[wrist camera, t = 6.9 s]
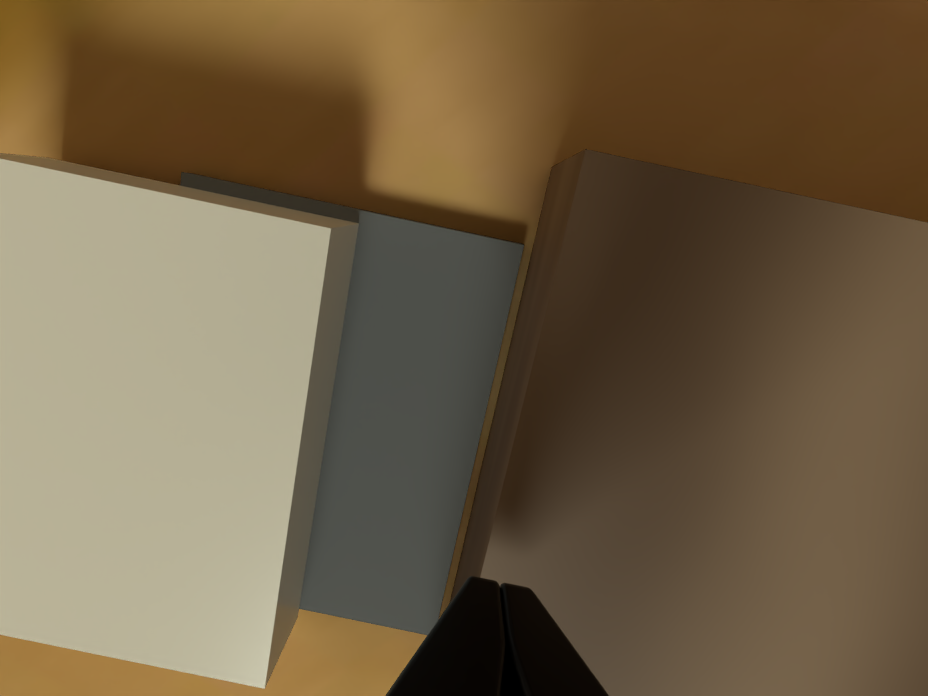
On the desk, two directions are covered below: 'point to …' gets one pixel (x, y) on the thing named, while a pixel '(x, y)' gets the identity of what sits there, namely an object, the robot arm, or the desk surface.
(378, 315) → the mat
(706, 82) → the desk surface
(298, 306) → the cream rectangular box
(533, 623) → the robot arm
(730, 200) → the riser
